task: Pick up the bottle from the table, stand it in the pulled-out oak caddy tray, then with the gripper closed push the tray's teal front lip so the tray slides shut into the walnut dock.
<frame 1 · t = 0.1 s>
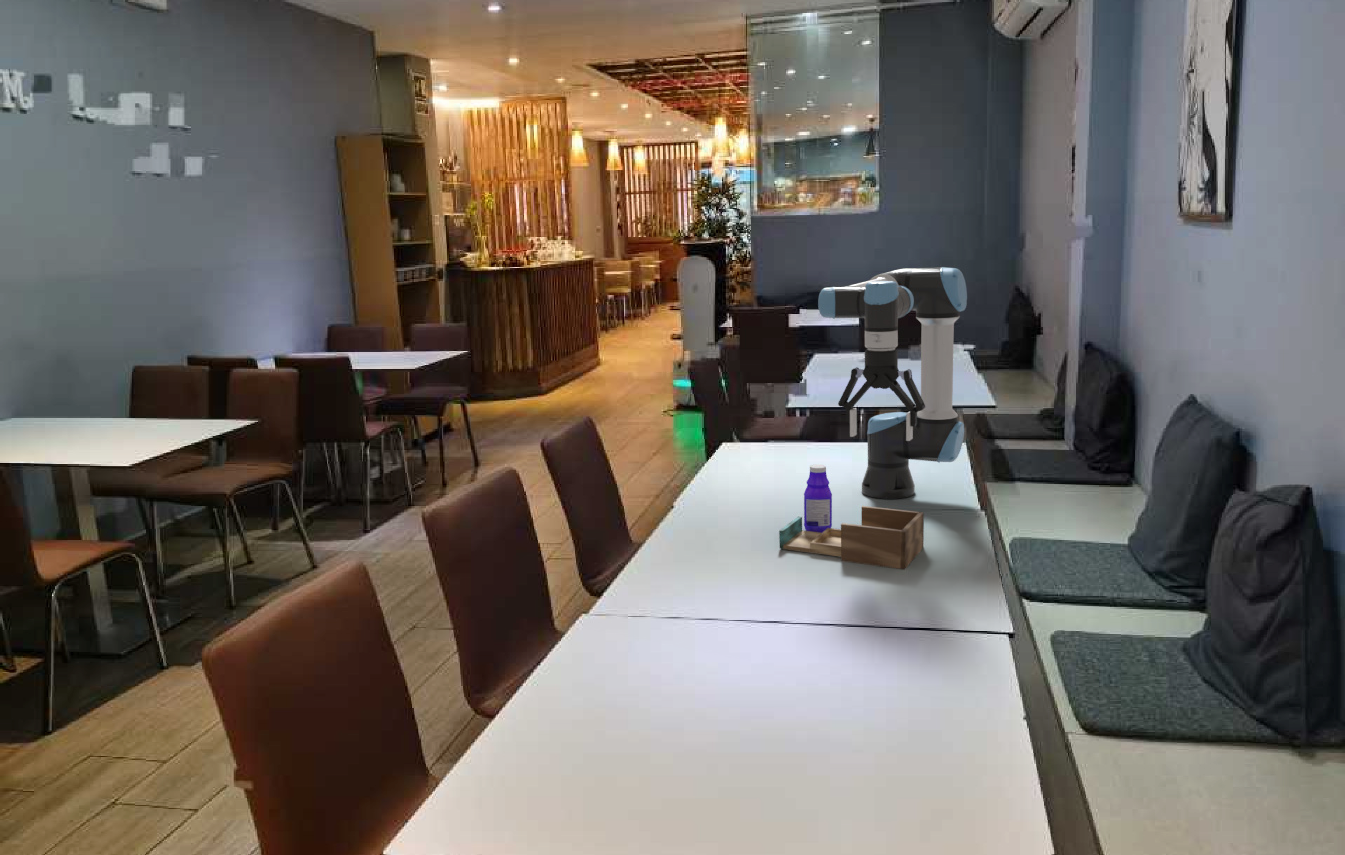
hand: (881, 437, 229), 28 cm above the table, fingers open, 13 cm apart
housing: (882, 554, 231), on the table
tray: (829, 537, 237), point 3 cm above the table, slide at 9.0 cm
bottle: (818, 531, 251), on the table
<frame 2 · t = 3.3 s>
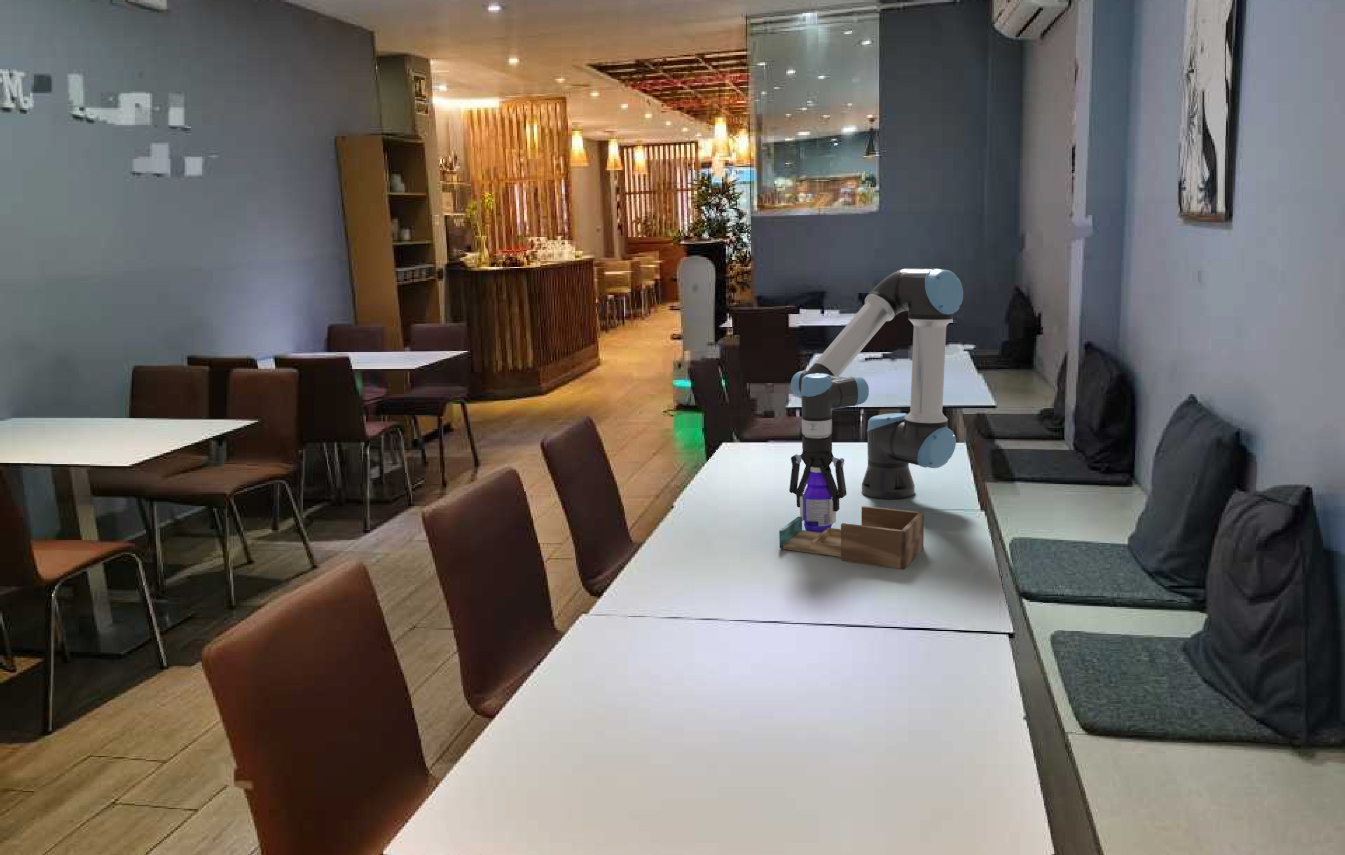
hand: (818, 521, 250), 3 cm above the table, fingers closed on bottle, 7 cm apart
bottle: (818, 531, 251), on the table, touching gripper
everything else where it was.
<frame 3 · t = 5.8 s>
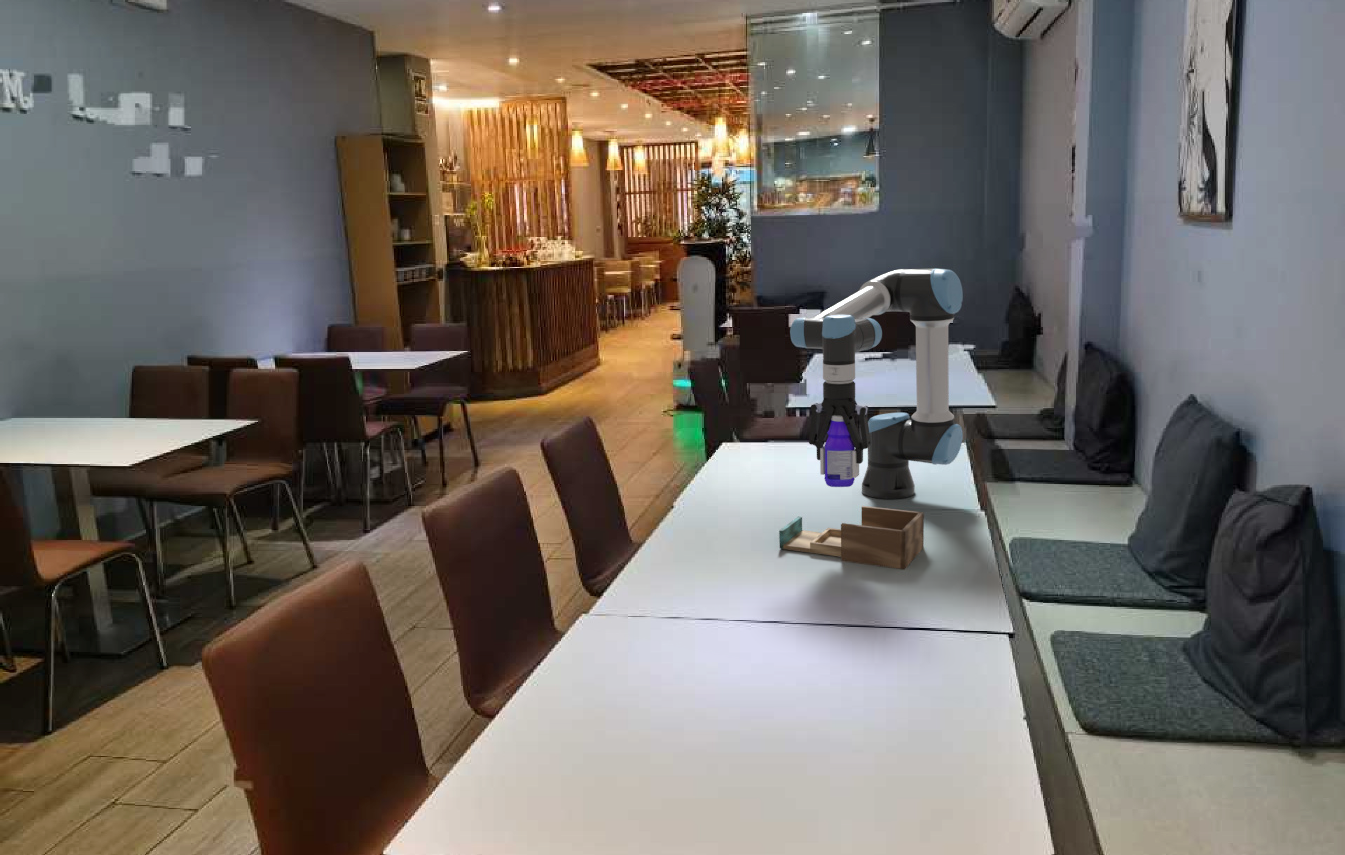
hand: (839, 474, 233), 19 cm above the table, fingers closed on bottle, 7 cm apart
bottle: (839, 486, 233), point 16 cm above the table, touching gripper
everything else where it was.
when the fingers open (5 cm above the table, at t = 8.2 s): bottle drops 1 cm, resting on tray.
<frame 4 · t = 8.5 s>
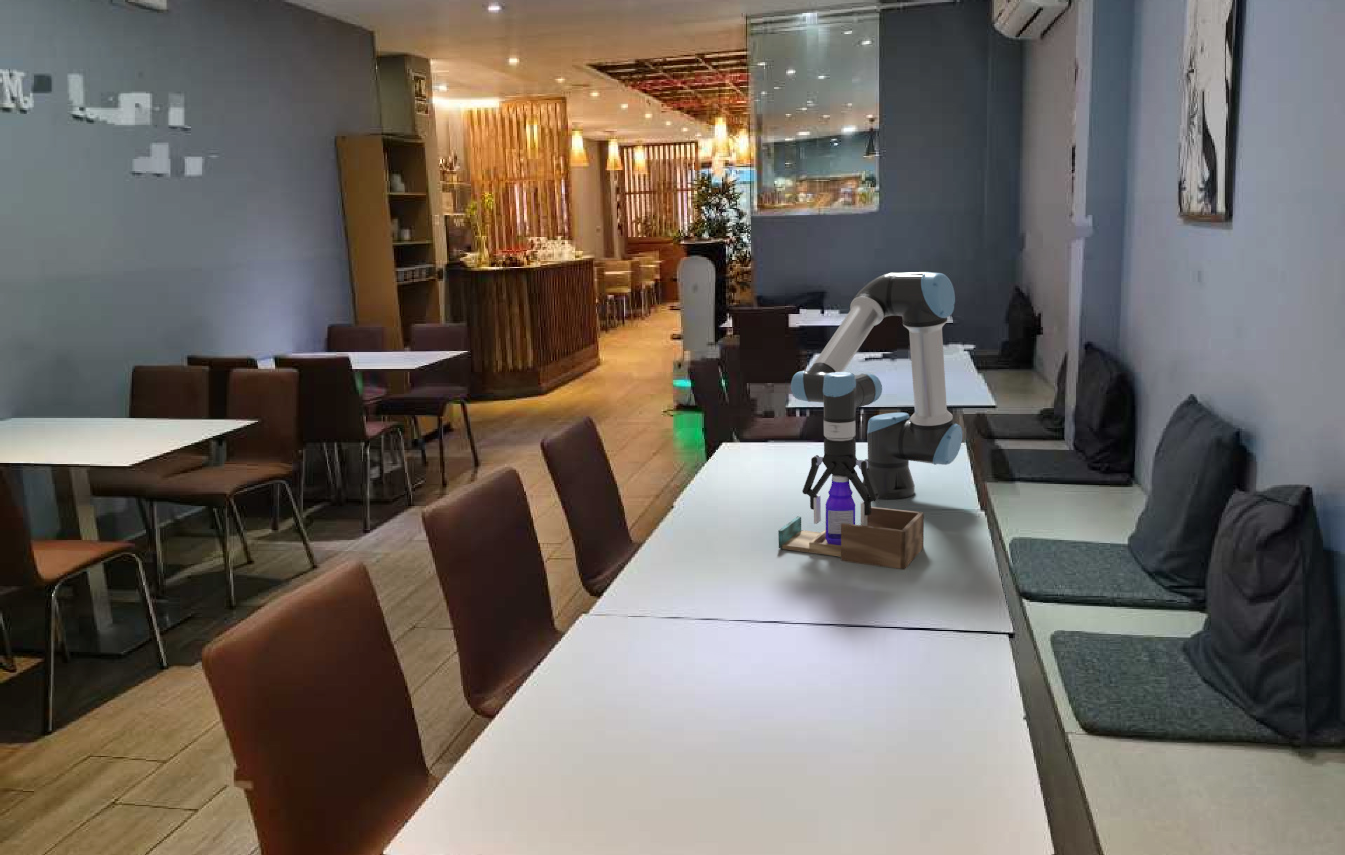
hand: (840, 524, 235), 6 cm above the table, fingers open, 11 cm apart
tray: (828, 537, 237), point 3 cm above the table, slide at 9.2 cm, touching bottle
bottle: (840, 544, 236), point 1 cm above the table, touching tray
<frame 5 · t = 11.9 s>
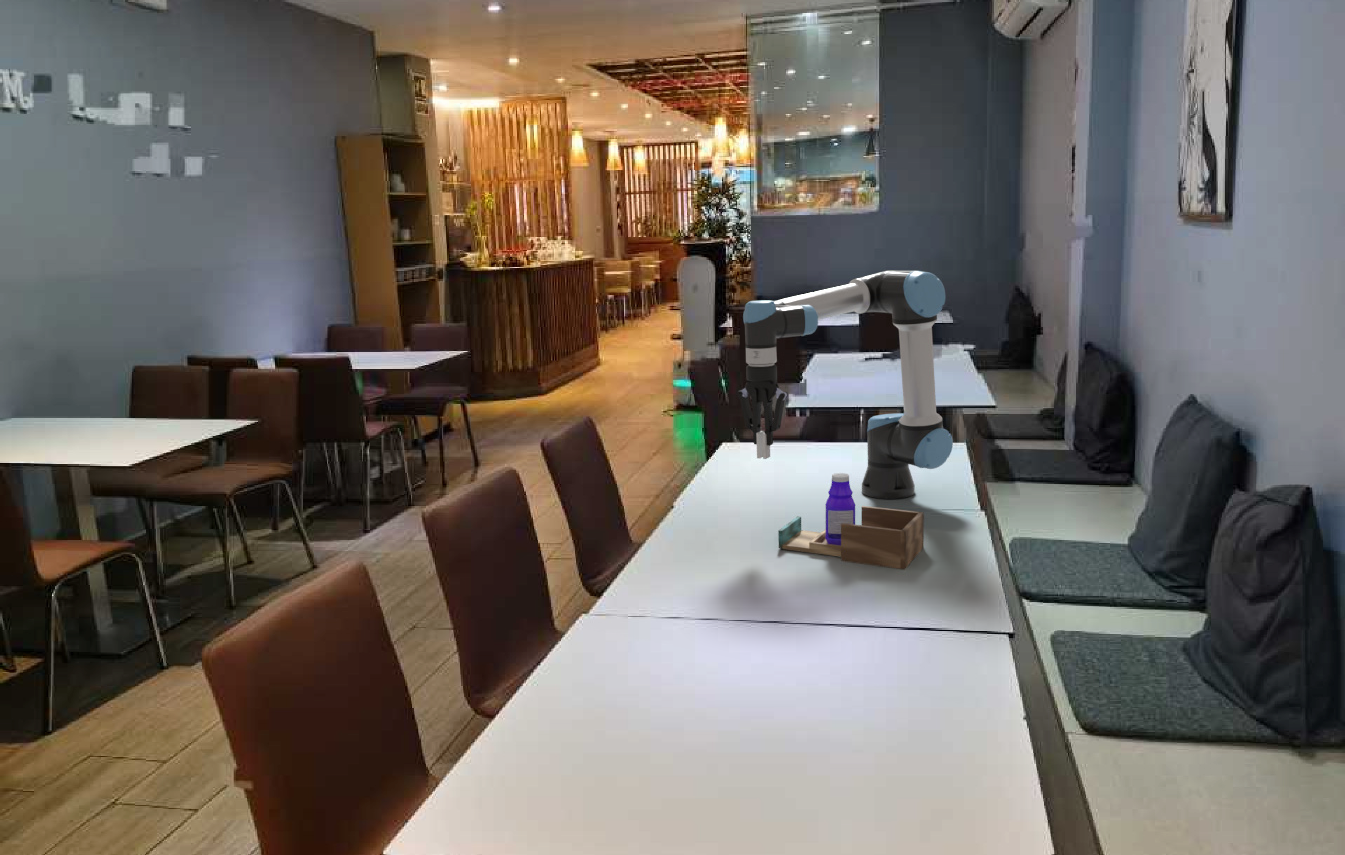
hand: (763, 457, 242), 21 cm above the table, fingers closed
nothing on the table moved.
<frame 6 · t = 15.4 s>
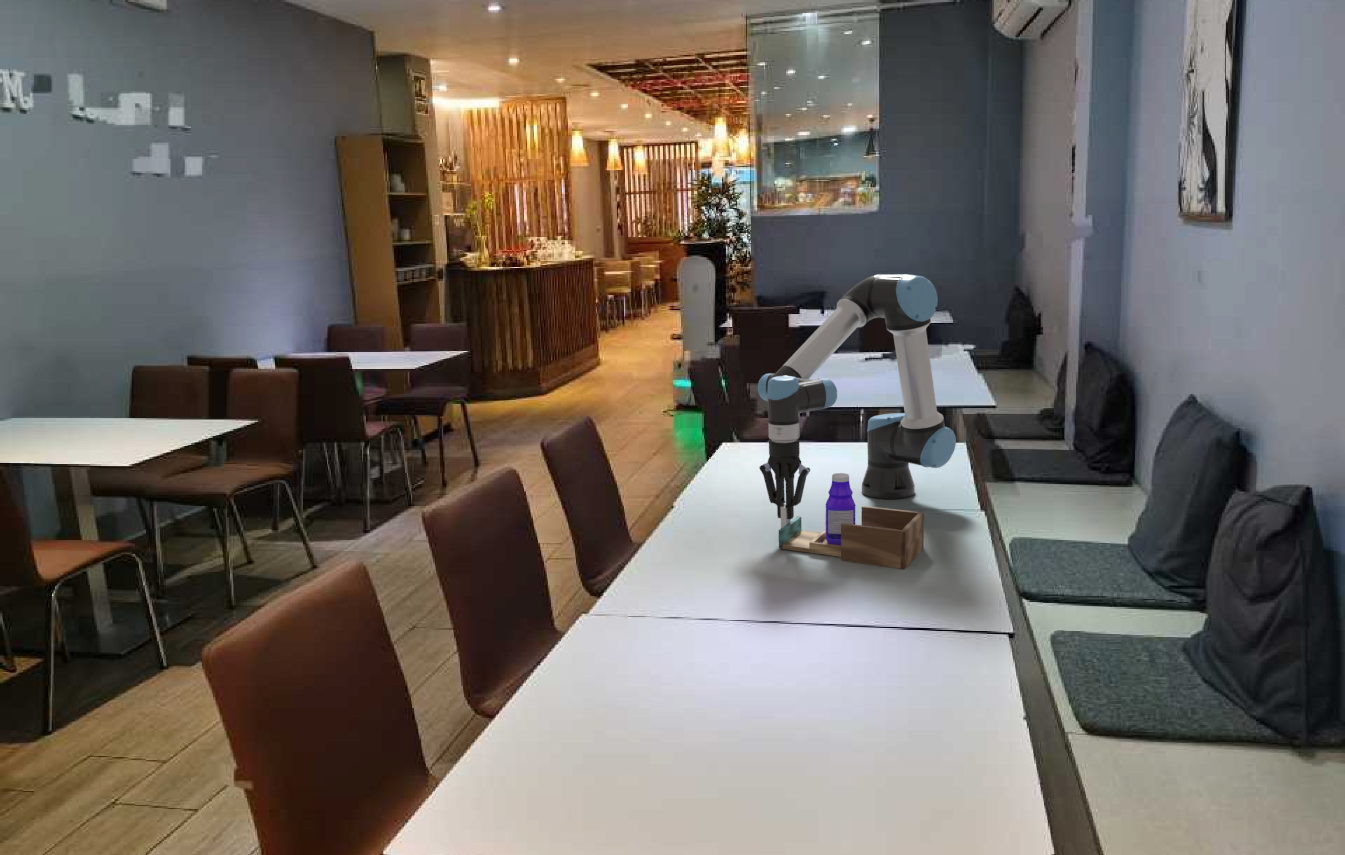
hand: (785, 530, 243), 3 cm above the table, fingers closed
tray: (828, 537, 237), point 3 cm above the table, slide at 9.2 cm, touching bottle, gripper
everything else where it was.
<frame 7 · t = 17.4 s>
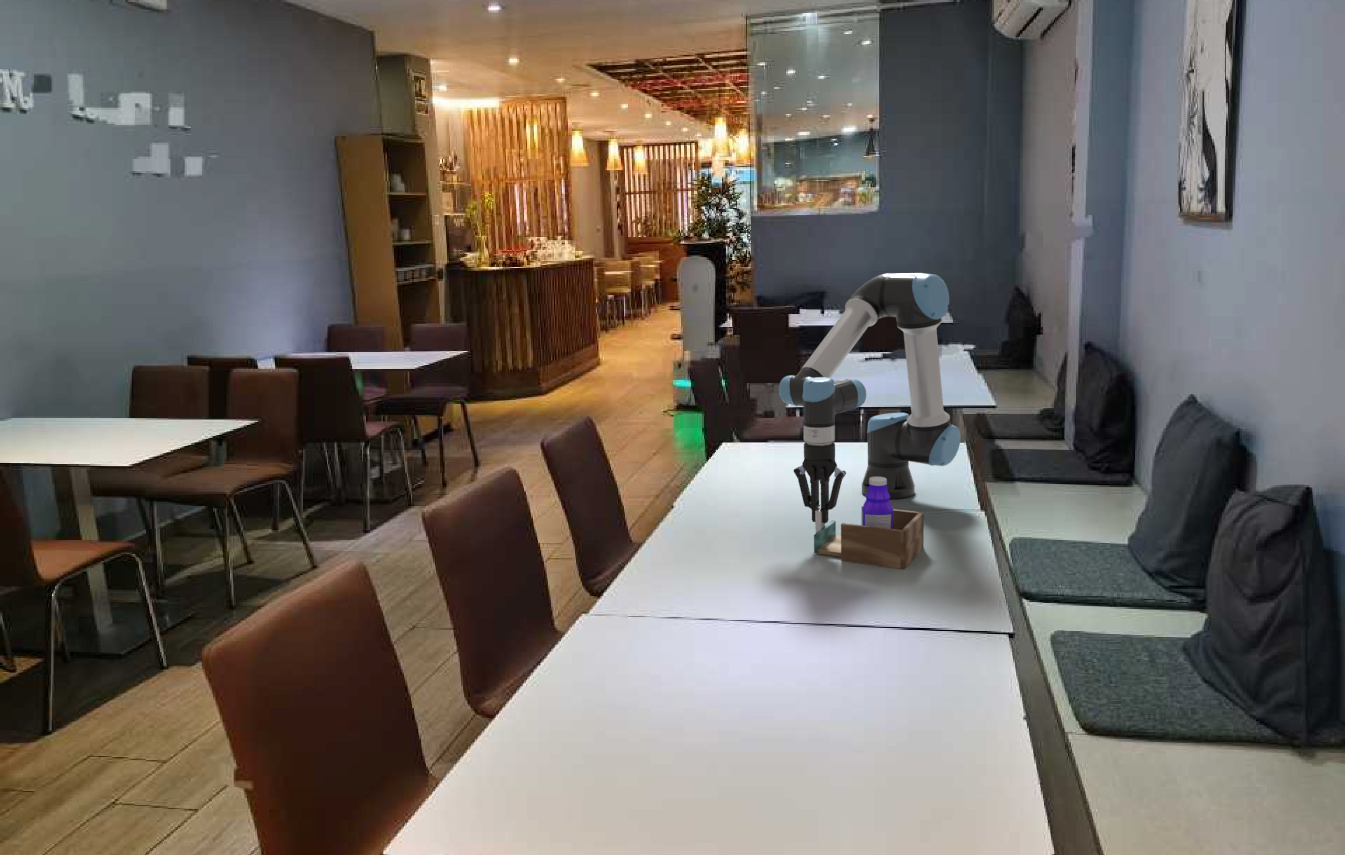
hand: (820, 534, 238), 3 cm above the table, fingers closed
tray: (864, 541, 233), point 3 cm above the table, slide at 0.0 cm, touching bottle, gripper
bottle: (877, 549, 232), point 1 cm above the table, touching tray
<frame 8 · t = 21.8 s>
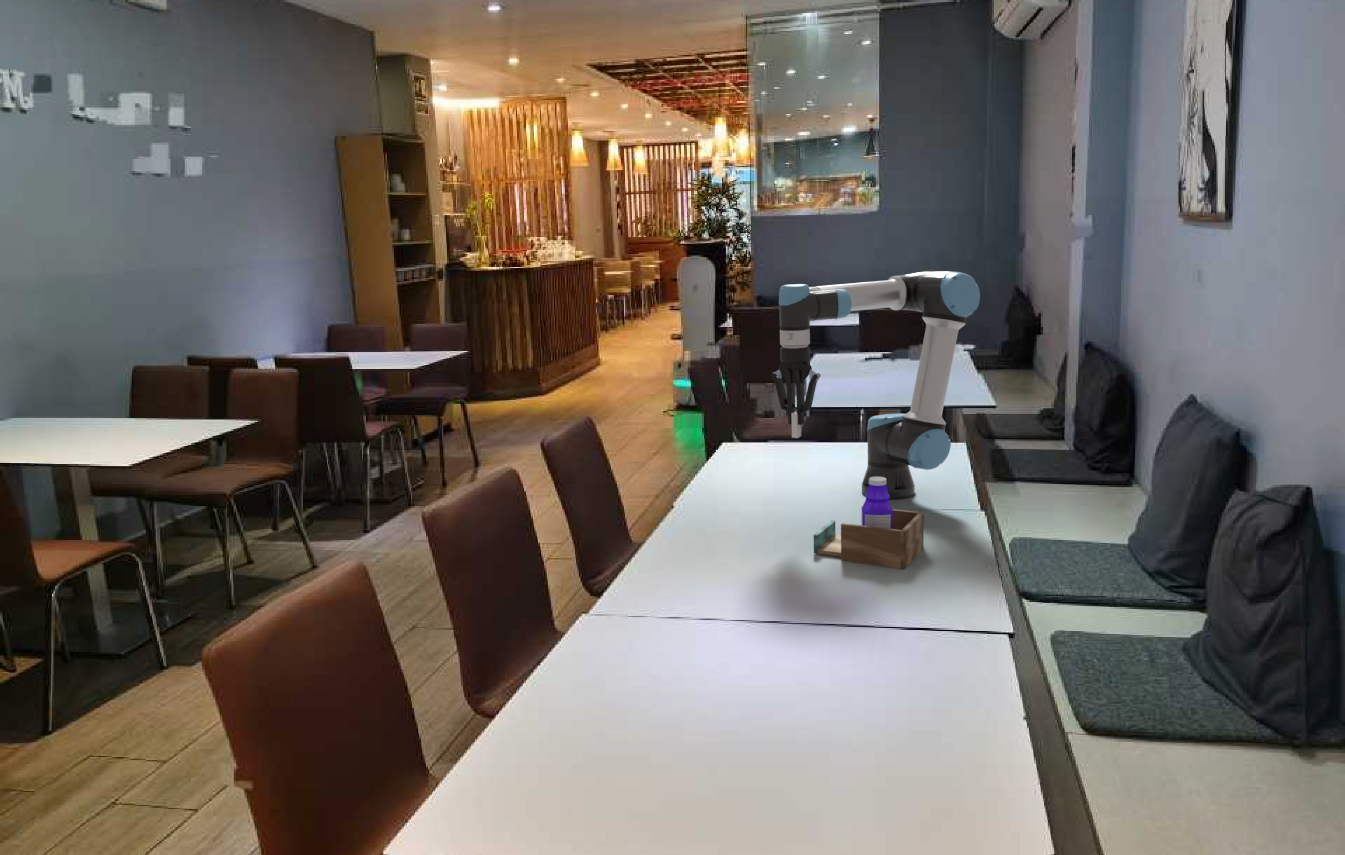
hand: (796, 436, 249), 24 cm above the table, fingers closed
tray: (864, 541, 233), point 3 cm above the table, slide at 0.0 cm, touching bottle
everything else where it was.
at the end: tray slide at 0.0 cm; bottle inside the target area on the housing (0.6 cm from its centre), point 1.1 cm above the housing's base; bottle tilted 0° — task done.
